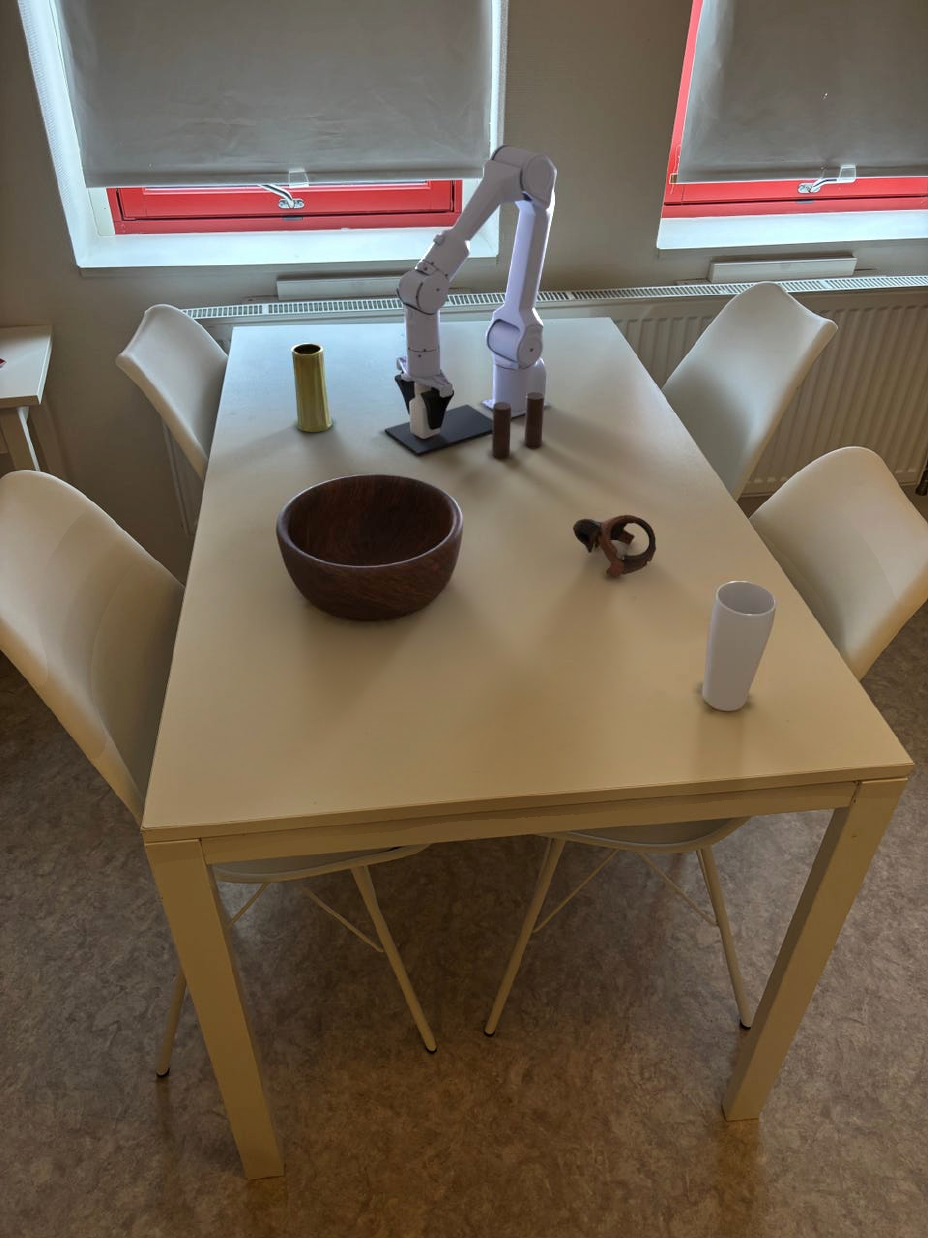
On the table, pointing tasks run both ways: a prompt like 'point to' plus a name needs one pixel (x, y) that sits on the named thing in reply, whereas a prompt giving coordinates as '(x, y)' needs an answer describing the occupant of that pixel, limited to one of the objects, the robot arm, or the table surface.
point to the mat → (445, 431)
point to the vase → (310, 388)
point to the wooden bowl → (370, 544)
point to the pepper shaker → (420, 414)
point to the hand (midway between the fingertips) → (424, 420)
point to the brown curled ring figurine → (614, 530)
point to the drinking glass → (736, 642)
